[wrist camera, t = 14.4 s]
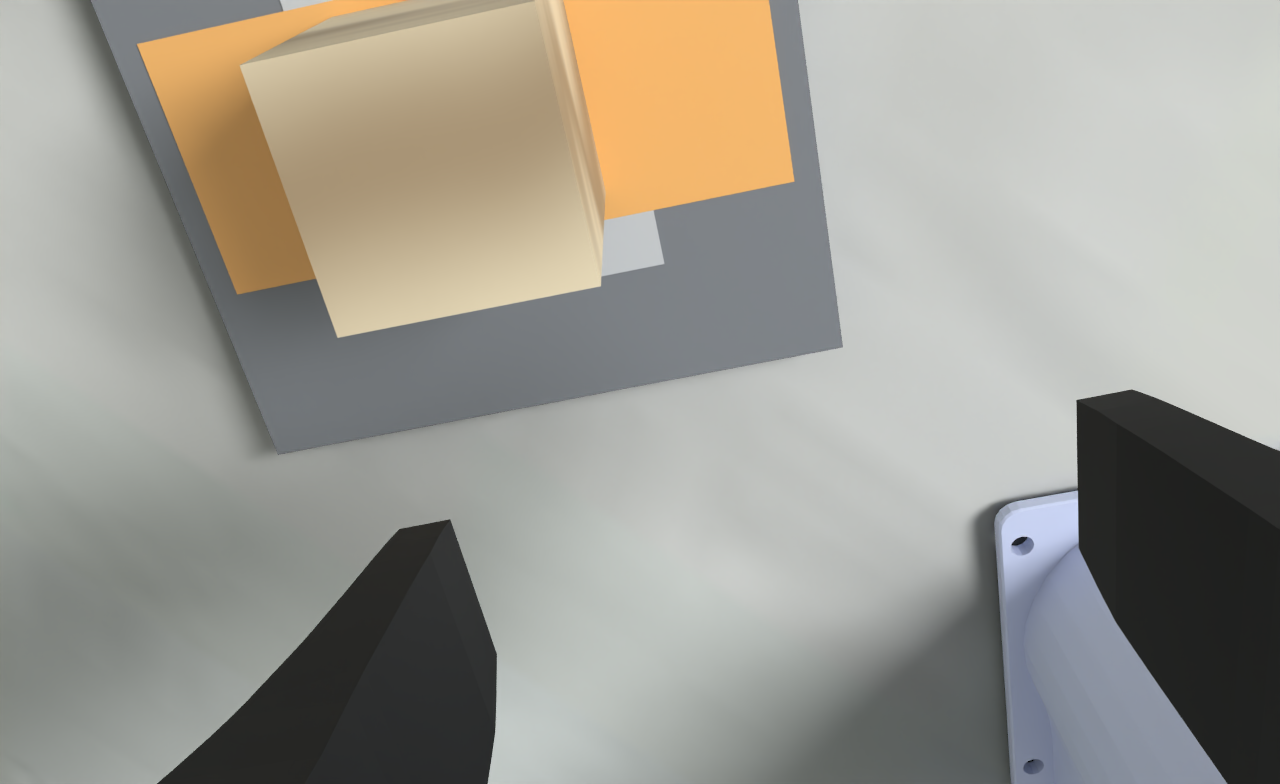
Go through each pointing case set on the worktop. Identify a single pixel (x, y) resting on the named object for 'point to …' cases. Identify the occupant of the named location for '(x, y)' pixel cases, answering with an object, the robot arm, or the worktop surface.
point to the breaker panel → (535, 329)
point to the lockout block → (435, 157)
